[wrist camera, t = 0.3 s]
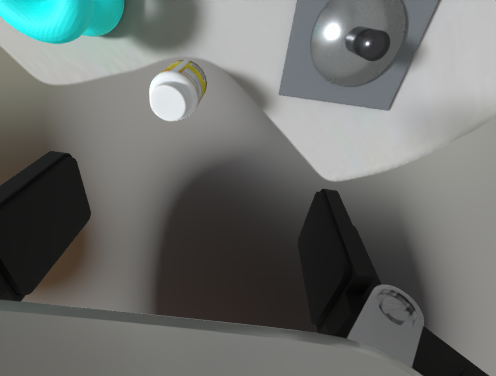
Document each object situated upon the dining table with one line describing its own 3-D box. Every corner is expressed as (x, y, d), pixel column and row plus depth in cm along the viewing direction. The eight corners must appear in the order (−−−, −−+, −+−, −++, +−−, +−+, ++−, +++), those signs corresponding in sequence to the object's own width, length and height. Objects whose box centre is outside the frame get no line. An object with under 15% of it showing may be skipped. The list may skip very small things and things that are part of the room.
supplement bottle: (166, 94, 37) (140, 120, 29) (169, 53, 34) (141, 69, 26) (204, 105, 38) (189, 133, 29) (211, 65, 35) (196, 85, 26)
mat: (309, -59, 27) (309, -60, 27) (451, -34, 28) (454, -35, 27) (278, 93, 36) (279, 94, 36) (385, 109, 37) (387, 110, 37)
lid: (325, -26, 28) (342, -33, 23) (420, -9, 29) (458, -13, 23) (300, 79, 35) (309, 93, 29) (378, 90, 35) (401, 106, 30)
